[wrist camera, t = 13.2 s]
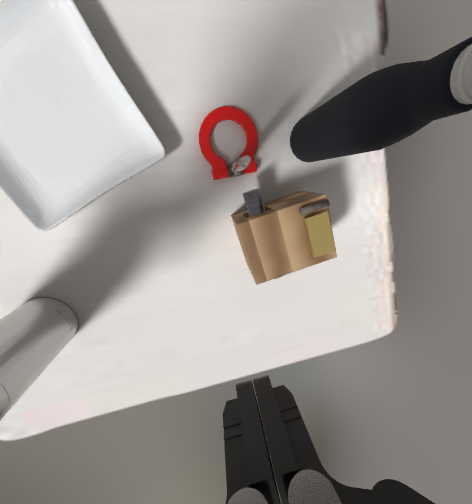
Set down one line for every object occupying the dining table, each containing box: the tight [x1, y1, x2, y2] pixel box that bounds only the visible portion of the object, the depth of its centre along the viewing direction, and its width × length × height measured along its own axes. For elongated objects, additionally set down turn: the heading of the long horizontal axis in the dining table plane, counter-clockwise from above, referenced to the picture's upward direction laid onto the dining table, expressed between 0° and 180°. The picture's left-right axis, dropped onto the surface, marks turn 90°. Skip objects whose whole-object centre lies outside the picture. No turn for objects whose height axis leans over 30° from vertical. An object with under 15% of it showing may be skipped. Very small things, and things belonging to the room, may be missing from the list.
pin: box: [243, 189, 281, 279], centre depth 34 cm, size 13×5×5 cm, turn 18°
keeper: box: [304, 211, 336, 258], centre depth 30 cm, size 3×6×1 cm, turn 18°
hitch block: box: [231, 191, 337, 285], centre depth 34 cm, size 12×9×9 cm
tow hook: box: [199, 106, 258, 180], centre depth 27 cm, size 8×13×9 cm
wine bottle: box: [290, 37, 472, 162], centre depth 20 cm, size 6×6×30 cm
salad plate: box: [0, 0, 165, 231], centre depth 29 cm, size 21×21×3 cm
